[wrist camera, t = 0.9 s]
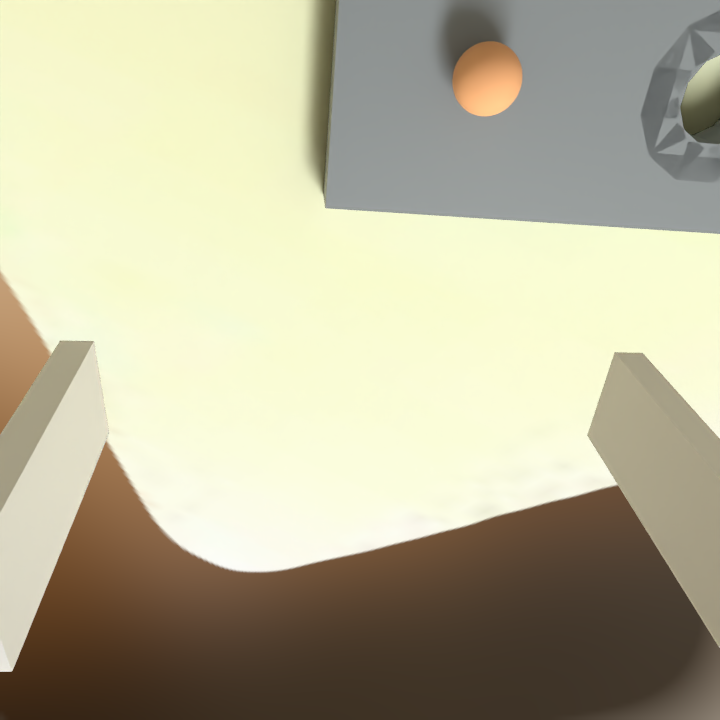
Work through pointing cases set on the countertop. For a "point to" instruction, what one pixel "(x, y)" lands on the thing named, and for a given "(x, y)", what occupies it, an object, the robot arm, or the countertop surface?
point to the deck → (525, 113)
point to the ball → (487, 78)
